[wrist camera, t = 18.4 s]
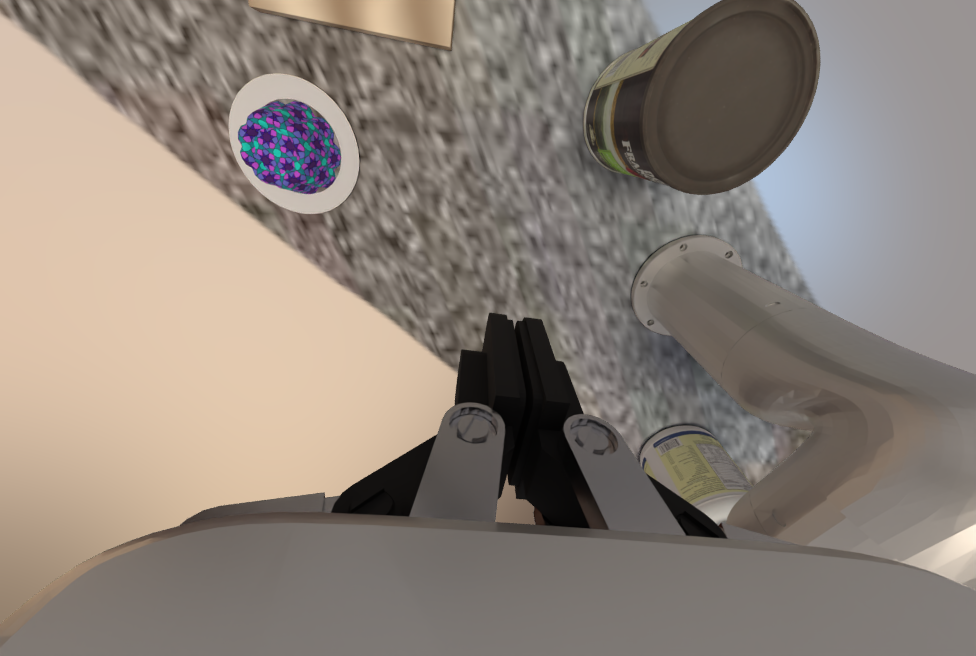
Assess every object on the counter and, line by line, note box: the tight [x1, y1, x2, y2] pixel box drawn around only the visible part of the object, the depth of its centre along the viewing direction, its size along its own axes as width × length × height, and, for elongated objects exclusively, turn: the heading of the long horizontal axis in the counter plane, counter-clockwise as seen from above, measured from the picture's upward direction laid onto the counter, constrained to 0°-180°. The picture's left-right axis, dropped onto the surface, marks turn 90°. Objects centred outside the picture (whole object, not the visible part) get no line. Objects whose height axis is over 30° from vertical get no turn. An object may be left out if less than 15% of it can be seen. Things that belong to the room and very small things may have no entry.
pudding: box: [229, 73, 359, 214], centre depth 32 cm, size 12×12×5 cm
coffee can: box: [583, 0, 820, 195], centre depth 27 cm, size 10×10×14 cm
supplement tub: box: [640, 426, 753, 526], centre depth 49 cm, size 12×12×17 cm
